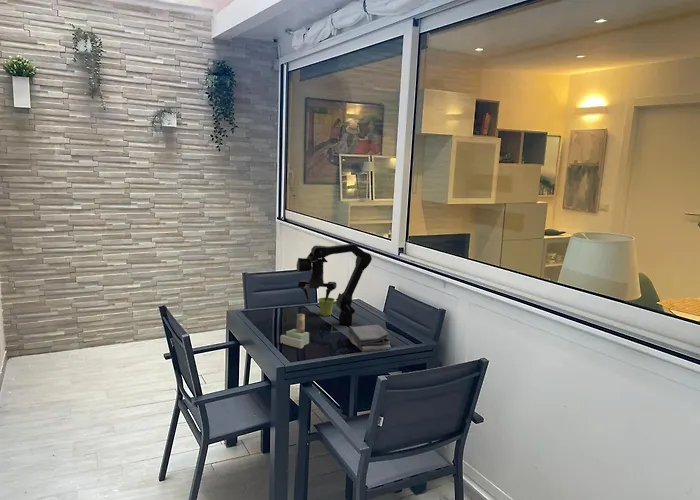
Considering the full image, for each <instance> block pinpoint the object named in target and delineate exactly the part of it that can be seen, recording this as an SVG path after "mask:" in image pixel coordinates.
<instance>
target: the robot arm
mask: <svg viewBox="0 0 700 500" xmlns="http://www.w3.org/2000/svg"><path fill="white" fill-rule="evenodd" d="M345 253H352V254H353V255H354V256H355V257H356V258H355V265H354V266H355V267H354V268H353V271H352V273H351V275H350V277H349V280H348V282H347V285H346V287H345V289H344V290H343V292H342V293H340V292H339V293H338V295H337V298H335V304H336V307H337V308H338V309H339V311H340V314H339V315H338V322H339V325H340V326H350V327H353V324H354V314H355V312H356V310H355V309H354V308H353V306H352V303H353V295H354V293H355V290H356V288H357V286H358V283H359V281H360V280H361V278H362V275H363V273H364V271H365V270H366V269H367V268H368V267H369V265H370V264H371V262H372V260H373V258H372V254H370V253H369V252H366V251H365V250H363V249H361V248H360V247H359V246H358V245H357V244H356V243H353V242H351V243H347V244H346V243H345V244H338V245H331V246H328V245H313V247H312V248H311V251H310V253H309V254H308V255H307V257H298V258H297V261H296V271H297V272H298V273H300V272H302V273H305V272H310V271H311V276H310V278H309V280H307V279H301V280H300V281H298V282H297V288H300V289H301V290H302V291H303V292H304V295H305V298H306V300H307V302H309V300H310V289H317V290H318V289H319V288H326V290H325V297H326V298H325V302H327V299H328V298H329V296H330V294H331V292H332V291H333V290H336V289H337V282H336V281H327V282H324V263H328V260H327V259H326V258H327V257H328V256H331V255H337V254H345Z"/></svg>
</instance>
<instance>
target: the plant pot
mask: <svg viewBox="0 0 700 500" xmlns="http://www.w3.org/2000/svg"><path fill="white" fill-rule="evenodd" d="M325 298H326V296H325V297H319V298H317V302H318V304H319V314H320V315H321V316H322V315H323V316H324V317H327V316H329V315H330V316H332V315H333V314H332V313H333V309H334V308H333V307H334V303H335V302H336V298H333V297H328V299H327V302H325ZM331 314H332V315H331Z"/></svg>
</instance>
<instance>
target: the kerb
mask: <svg viewBox="0 0 700 500" xmlns="http://www.w3.org/2000/svg"><path fill="white" fill-rule="evenodd" d="M279 340H280V344H282V343H283V345H287V346H290V347H293V348H297V349H299V350H300V349H303V348H304V346H305V345H304V340H301V339H298V338H294V337H290V336H287V335H286V334H281V335H280V339H279Z"/></svg>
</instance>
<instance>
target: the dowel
mask: <svg viewBox="0 0 700 500" xmlns="http://www.w3.org/2000/svg"><path fill="white" fill-rule="evenodd" d="M305 316H306V314H304V313H297V314H296V329H297V332H298V333H304V332H306V331H305V327H306V326H305V325H306V324H305V321H306V320H305V319H306V318H305Z"/></svg>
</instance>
